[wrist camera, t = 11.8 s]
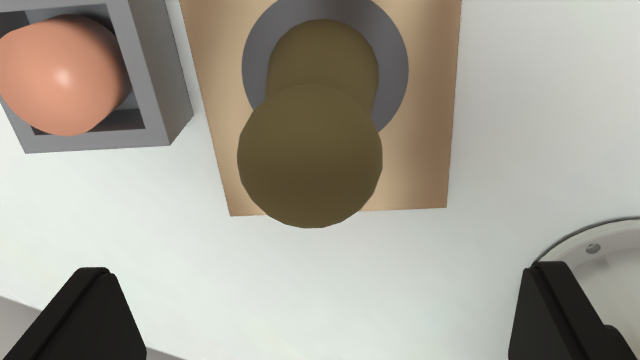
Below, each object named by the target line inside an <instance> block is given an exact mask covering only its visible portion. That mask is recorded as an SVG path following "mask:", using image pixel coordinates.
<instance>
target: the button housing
mask: <svg viewBox="0 0 640 360" xmlns="http://www.w3.org/2000/svg"><path fill="white" fill-rule="evenodd" d="M62 14H75V15H81V16H85V17H87V18H90V19H92V20H94V21H96V22H98V23H100V24H101V25H103V26H104V27H106V28H107V29H108V30H109V31H110V32H111V33H112V34H113V35H114V36H115V37H116V38H117V40H118V43H119V46H120V49H121V52H122V55H123V59H124V62H125V65H126V68H127V71H128V74H129V77H130V81H131V84H132V88H131V91H130V93H129V95H128V97H127V98H126V100H125V101H124V102H123V103H122V104H121V105H120V106H118V107H117V108H116V109H115V110H114V111H112V112H111V113H110V114H109V115H108V116H106V117H105V118H104V119H103V120H102V121H100V122H99V123H98V124H97V125H96V126H94V127H93V128H92V129H90V130H89V131H87V132H85V133H83V134H79V135H75V136H59V135H54V134H50V133H47V132H44V131H41V130H39V129H37V128H35V127H33V126H31V125H30V124H28V123H27V122H25V121H24V120H22V119H21V118H20V117H19V116H18V115H16V114H15V113H14V112H13V111H12V110H11V109H10V107H9V106H8V105H7V104H6V102H5V101H4V100H3V98H2V97H1V95H0V103H1V105H2V107H3V109H4V111H5V113H6V115H7V117H8V119H9V121H10V123H11V125H12V127H13V130H14V132H15V134H16V136H17V138H18V140H19V142H20V144H21V146H22V148H23V150H24V152H25V154H28V153H46V152H64V151H81V150H99V149H117V148H135V147H153V146H170V145H171V144H172V142H173V141H174V140H175V138H176V137H177V136H178V135H179V133H180V132H181V131H182V129H183V128H184V127H185V125H186V124H187V123H188V122H189V120H190V119H191V118H192V116H193V112H192V108H191V104H190V100H189V96H188V92H187V88H186V84H185V80H184V76H183V72H182V68H181V64H180V60H179V56H178V52H177V48H176V44H175V40H174V36H173V32H172V29H171V25H170V21H169V17H168V13H167V9H166V5H165V1H164V0H0V39H1V38H2V37H3V36H4V35H6V34H7V33H9V32H11V31H14V30H17V29H19V28H22V27H25V26H28V25H31V24H34V23H37V22H40V21H42V20H45V19H48V18H51V17H54V16H57V15H62Z"/></svg>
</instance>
